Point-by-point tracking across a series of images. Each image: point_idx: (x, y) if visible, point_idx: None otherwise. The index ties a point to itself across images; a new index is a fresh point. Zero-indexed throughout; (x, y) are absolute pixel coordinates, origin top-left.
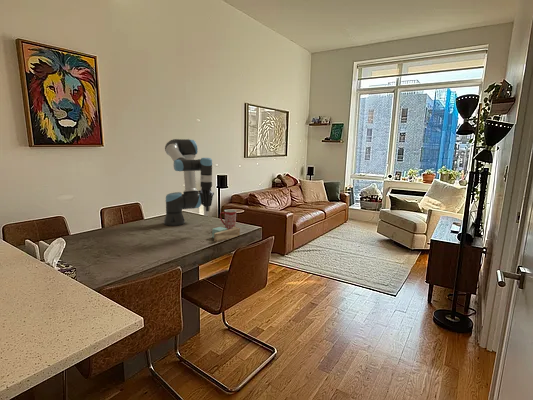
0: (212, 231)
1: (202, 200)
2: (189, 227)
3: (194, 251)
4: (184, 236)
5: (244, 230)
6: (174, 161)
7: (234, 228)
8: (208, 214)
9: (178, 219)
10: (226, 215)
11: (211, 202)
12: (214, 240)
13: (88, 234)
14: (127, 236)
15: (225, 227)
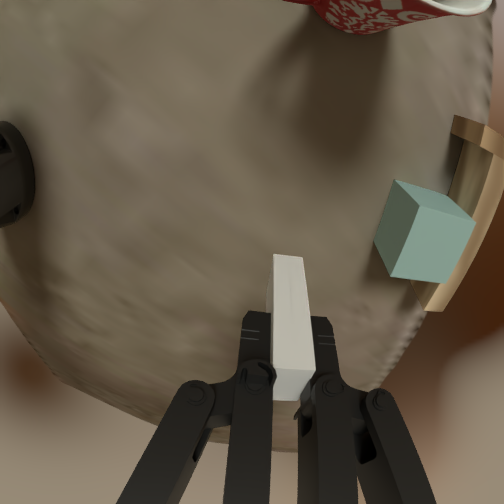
0: (386, 264)
1: (192, 471)
2: (89, 162)
3: (385, 373)
4: (227, 301)
5: None
6: None
7: (496, 165)
8: (303, 266)
9: (9, 190)
10: (402, 11)
11: (410, 446)
12: (412, 283)
13: (55, 365)
14: (101, 360)
15: (335, 24)
